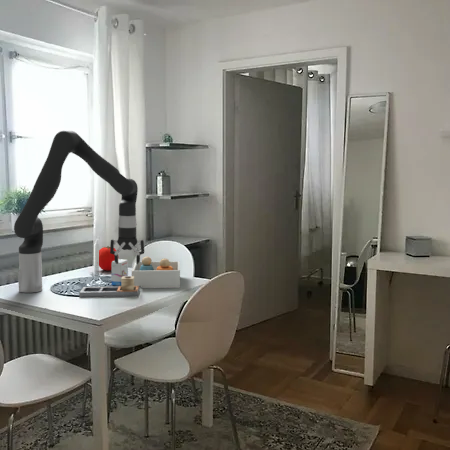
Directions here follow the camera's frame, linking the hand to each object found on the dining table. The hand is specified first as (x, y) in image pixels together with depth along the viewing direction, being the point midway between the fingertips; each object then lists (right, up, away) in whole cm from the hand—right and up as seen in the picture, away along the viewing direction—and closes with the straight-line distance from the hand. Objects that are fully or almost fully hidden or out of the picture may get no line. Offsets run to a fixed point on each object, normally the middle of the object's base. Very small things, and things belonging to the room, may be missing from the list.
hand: (127, 263), depth 217 cm
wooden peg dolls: (+10, -11, +30) cm, 33 cm away
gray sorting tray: (-7, -14, +1) cm, 16 cm away
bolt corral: (+9, -11, +27) cm, 31 cm away
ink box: (-7, -12, +21) cm, 25 cm away
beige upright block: (0, -13, +1) cm, 13 cm away
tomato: (-21, -8, +54) cm, 59 cm away
